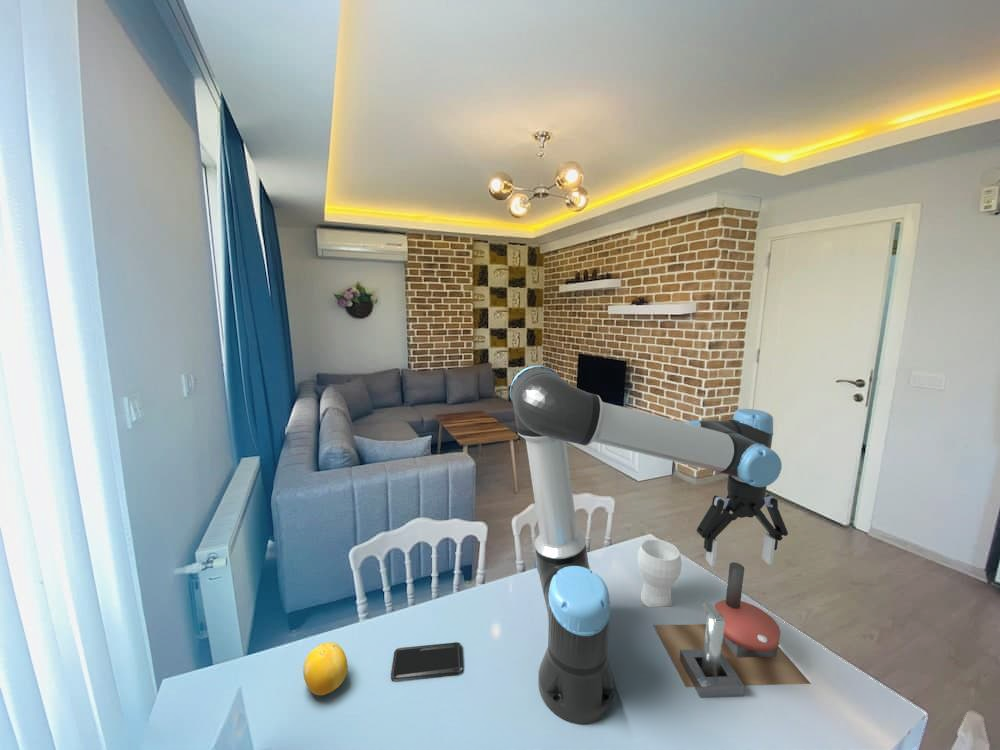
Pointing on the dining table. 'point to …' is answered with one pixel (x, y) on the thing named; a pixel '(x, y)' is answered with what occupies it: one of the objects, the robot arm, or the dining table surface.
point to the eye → (711, 686)
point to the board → (731, 657)
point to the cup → (658, 571)
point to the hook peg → (712, 641)
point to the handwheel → (746, 617)
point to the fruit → (325, 668)
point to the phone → (427, 662)
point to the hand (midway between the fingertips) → (738, 562)
